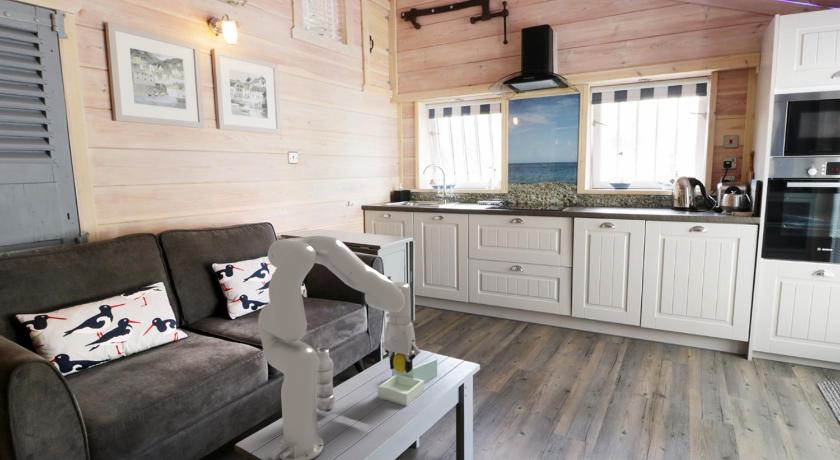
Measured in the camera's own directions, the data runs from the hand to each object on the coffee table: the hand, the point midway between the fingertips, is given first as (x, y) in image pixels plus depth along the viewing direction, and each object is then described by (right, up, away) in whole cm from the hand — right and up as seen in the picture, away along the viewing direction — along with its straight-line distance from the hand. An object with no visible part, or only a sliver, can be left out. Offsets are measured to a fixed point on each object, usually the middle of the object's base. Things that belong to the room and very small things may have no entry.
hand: (401, 369), depth 156 cm
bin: (0, -9, +1) cm, 9 cm away
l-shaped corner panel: (+5, -8, +14) cm, 16 cm away
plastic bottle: (-25, -11, -8) cm, 28 cm away
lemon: (0, -2, 0) cm, 2 cm away
